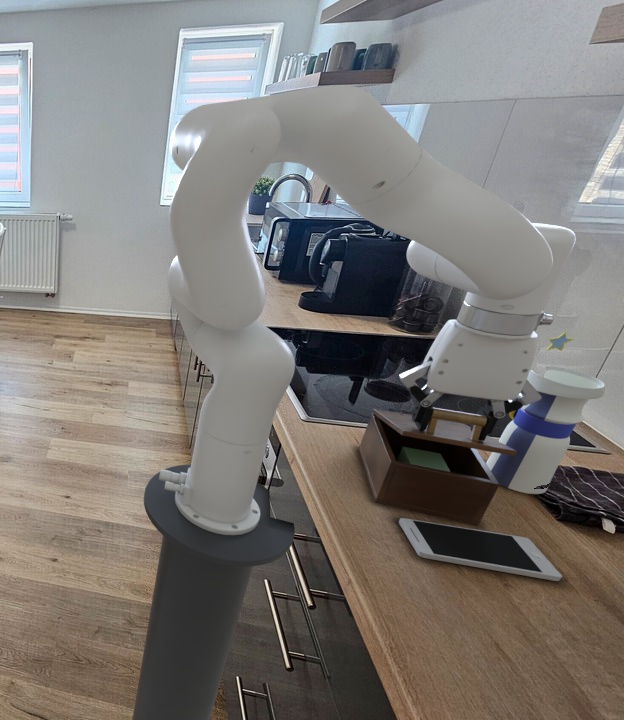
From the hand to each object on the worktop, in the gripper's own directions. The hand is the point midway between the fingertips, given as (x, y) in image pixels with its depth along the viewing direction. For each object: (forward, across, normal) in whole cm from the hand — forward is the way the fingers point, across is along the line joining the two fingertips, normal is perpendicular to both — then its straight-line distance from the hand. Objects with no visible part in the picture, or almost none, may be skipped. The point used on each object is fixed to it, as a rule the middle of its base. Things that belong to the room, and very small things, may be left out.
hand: (447, 429), depth 74 cm
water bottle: (+13, -15, -11) cm, 23 cm away
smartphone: (+13, -4, +10) cm, 17 cm away
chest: (+13, 0, -4) cm, 13 cm away
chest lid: (+3, 0, -4) cm, 4 cm away
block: (+12, 0, -3) cm, 12 cm away
